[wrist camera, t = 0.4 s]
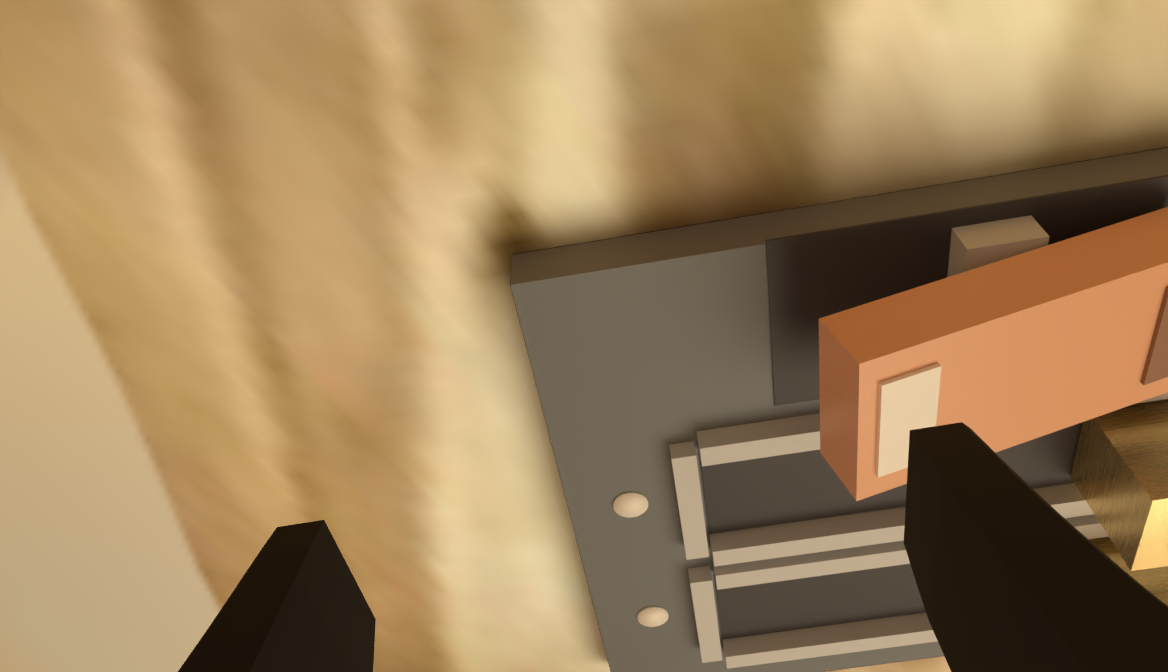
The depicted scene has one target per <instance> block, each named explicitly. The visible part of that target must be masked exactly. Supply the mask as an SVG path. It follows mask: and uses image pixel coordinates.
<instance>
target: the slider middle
mask: <svg viewBox="0 0 1168 672" xmlns="http://www.w3.org/2000/svg"><path fill="white" fill-rule="evenodd" d="M1070 477H1071V478H1072V480H1073V481H1074V483H1075V485H1076V486H1077V488H1078V489H1079V491H1080V492H1081V494H1082V495H1083V497H1084V499H1085V500H1086V502H1087V503H1088V505H1089V506H1090V508H1091V509H1092V511H1093V513H1094V514H1095V516H1096V517H1097V519H1098V520H1099V522H1100V524H1101V525H1102V527H1103V528H1104V530H1105V531H1106V533H1107V534H1108V536H1109V538H1110V539H1111V541H1112V542H1113V544H1114V545H1115V547H1116V549H1117V550H1118V552H1119V553H1120V555H1121V556H1122V558H1123V559H1124V561H1125V563H1126V564H1127V566H1128V567H1129V569H1130V570H1131V571H1135V570H1142V569H1150V568H1157V567H1165V566H1168V399H1163V400H1157V401H1150V402H1143V403H1136V404H1133V405H1130V406H1127V407H1124V408H1121V409H1119V410H1116V411H1113V412H1110V413H1107V414H1104V415H1101V416H1099V417H1096V418H1093V419H1090V420H1087V421H1084V422H1082V426H1081V431H1080V435H1079V440H1078V444H1077V449H1076V453H1075V457H1074V462H1073V466H1072V471H1071V475H1070Z"/></svg>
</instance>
